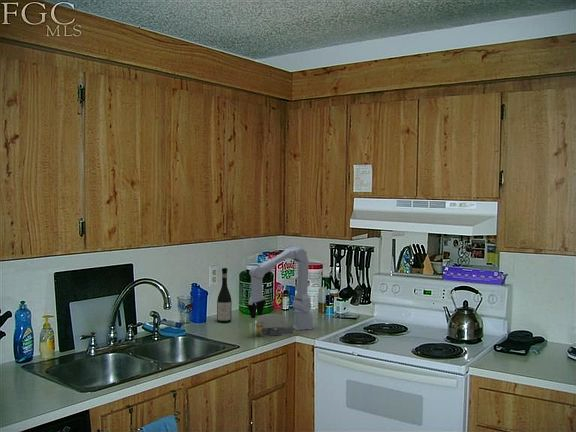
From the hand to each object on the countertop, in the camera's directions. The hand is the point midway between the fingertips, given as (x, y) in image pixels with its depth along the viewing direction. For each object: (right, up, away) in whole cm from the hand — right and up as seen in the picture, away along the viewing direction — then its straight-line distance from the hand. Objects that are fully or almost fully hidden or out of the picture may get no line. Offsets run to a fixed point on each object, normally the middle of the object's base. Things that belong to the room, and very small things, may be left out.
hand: (256, 316), depth 282 cm
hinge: (+7, -10, +10) cm, 16 cm away
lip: (+9, -10, +2) cm, 14 cm away
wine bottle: (-20, -8, +28) cm, 35 cm away
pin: (+1, -10, -1) cm, 10 cm away
